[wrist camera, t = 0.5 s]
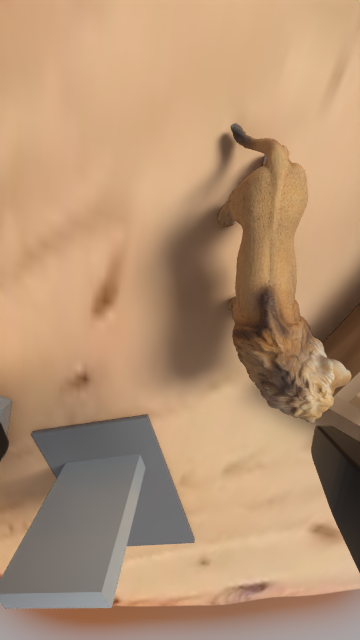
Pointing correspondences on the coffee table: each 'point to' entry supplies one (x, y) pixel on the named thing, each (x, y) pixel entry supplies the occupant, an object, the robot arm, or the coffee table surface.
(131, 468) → the tile
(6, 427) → the tile
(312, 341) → the lion figurine
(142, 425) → the mat
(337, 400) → the box
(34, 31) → the coffee table surface
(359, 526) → the robot arm
